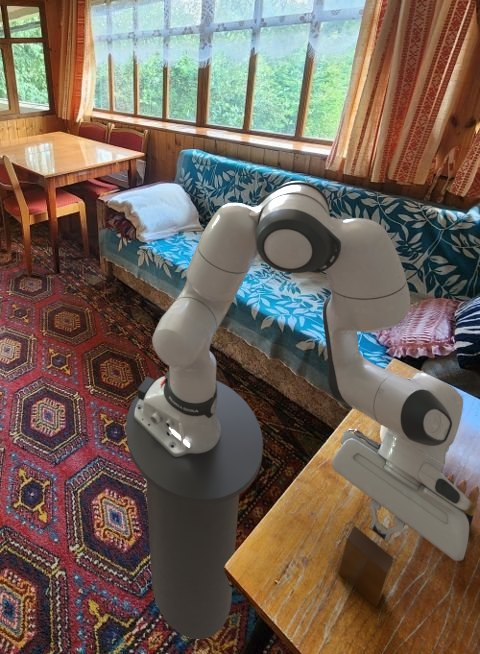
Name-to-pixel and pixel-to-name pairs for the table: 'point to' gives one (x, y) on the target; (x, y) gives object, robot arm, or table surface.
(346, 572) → the walnut block
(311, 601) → the table surface
